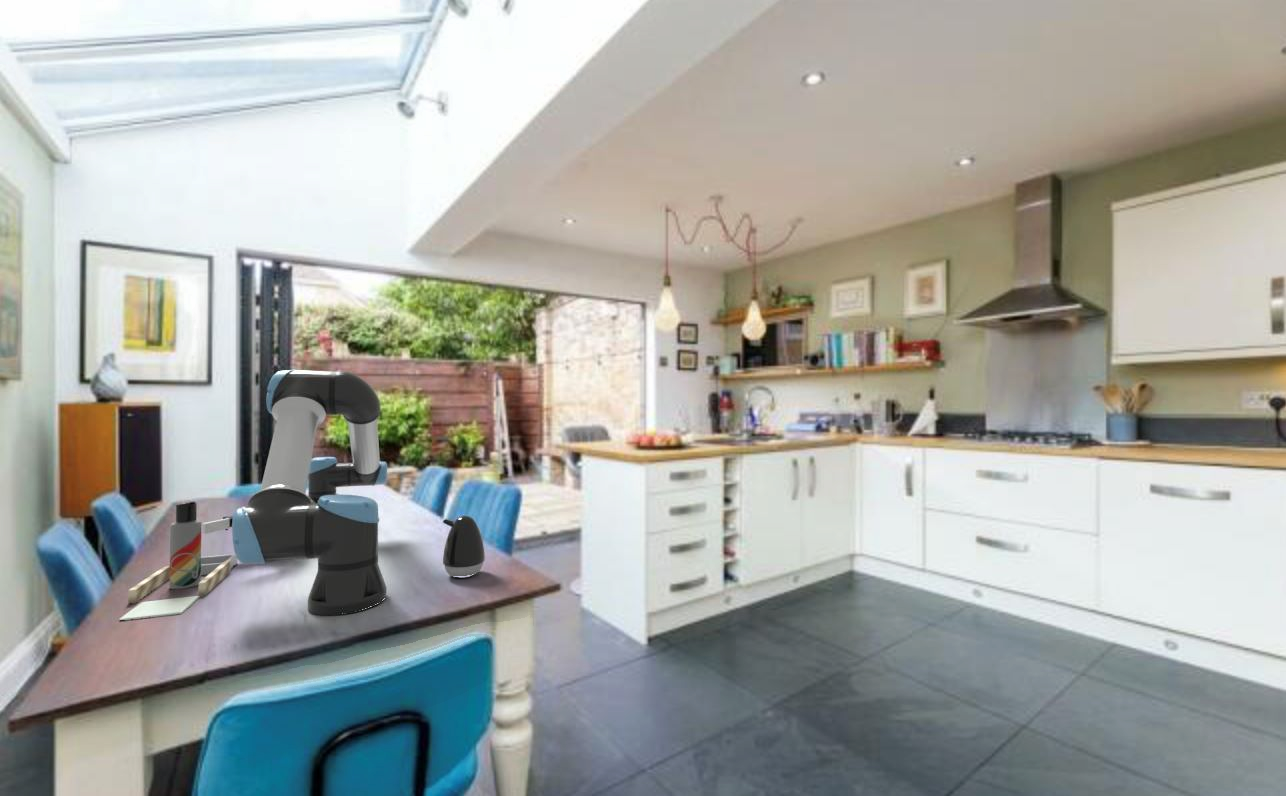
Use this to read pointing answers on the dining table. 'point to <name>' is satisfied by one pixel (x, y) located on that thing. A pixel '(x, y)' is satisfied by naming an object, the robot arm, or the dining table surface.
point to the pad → (160, 608)
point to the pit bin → (216, 562)
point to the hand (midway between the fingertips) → (224, 530)
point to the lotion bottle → (185, 547)
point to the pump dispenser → (463, 547)
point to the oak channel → (164, 575)
